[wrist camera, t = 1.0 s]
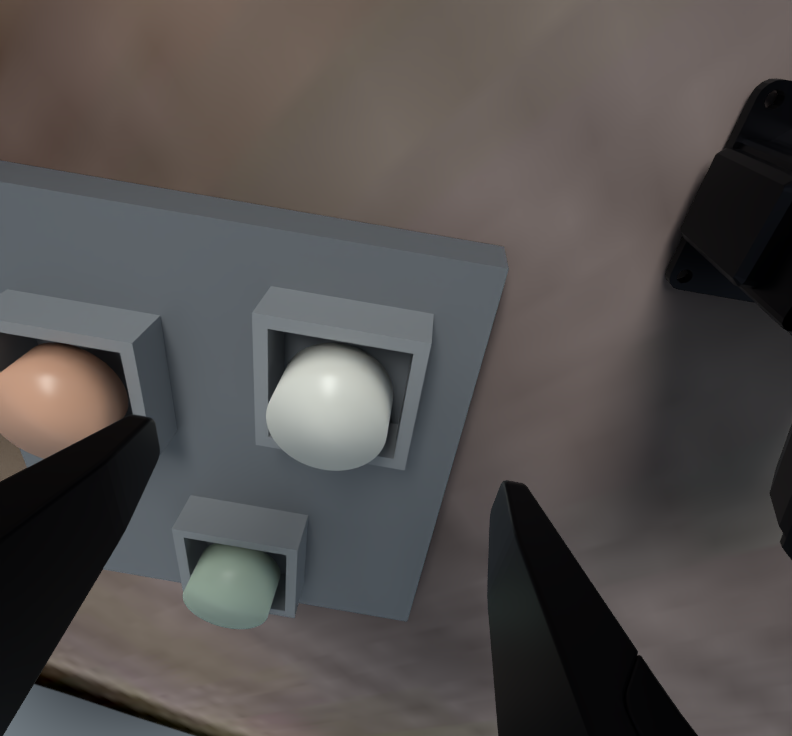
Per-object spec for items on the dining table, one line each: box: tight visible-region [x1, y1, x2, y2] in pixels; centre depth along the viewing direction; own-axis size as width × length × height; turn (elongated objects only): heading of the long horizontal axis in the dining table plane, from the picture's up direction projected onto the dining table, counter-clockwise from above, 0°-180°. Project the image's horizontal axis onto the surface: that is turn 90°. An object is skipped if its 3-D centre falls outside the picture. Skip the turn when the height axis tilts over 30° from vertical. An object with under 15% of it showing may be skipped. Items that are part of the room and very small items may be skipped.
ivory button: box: [266, 343, 393, 471], centre depth 17 cm, size 4×4×2 cm
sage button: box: [183, 543, 281, 629], centre depth 24 cm, size 4×4×2 cm
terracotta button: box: [0, 343, 129, 459], centre depth 18 cm, size 4×4×2 cm
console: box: [0, 161, 509, 622], centre depth 23 cm, size 20×22×4 cm
